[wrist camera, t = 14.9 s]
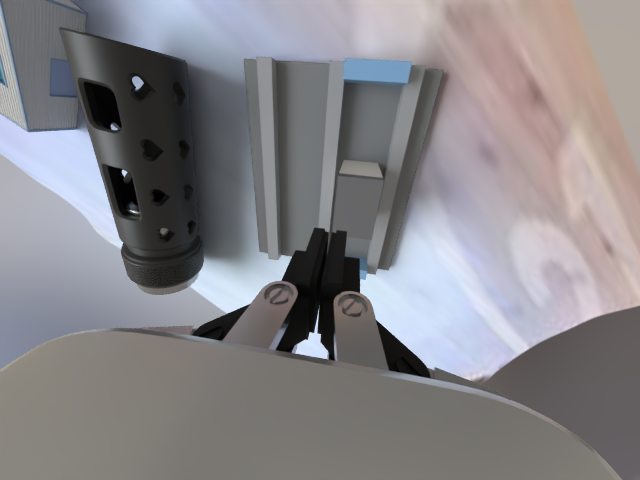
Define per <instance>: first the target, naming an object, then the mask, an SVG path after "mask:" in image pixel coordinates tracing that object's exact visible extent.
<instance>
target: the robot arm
mask: <svg viewBox="0 0 640 480" xmlns="http://www.w3.org/2000/svg"><path fill="white" fill-rule="evenodd" d="M328 238H329V232H325V229H324V228H315V227H314V230H313V232H312V235H311V238H310V240H309V243H308V246H307V248H306V251H301V250H295V252H294V254H293V256H292V259H291V261H290V263H289V265H288V267H287V270H286V272H285V274H284V276H283V279H282V281H276V282H272V283H269V284H268V285H266V286H265V287H264V288H263V289H262V290H261V291H260V292H259V294H258V295H257V296H256V298H255V299H254V300H253V301H252V303H251V304H249V305H247V306H244V307H242V308H240V309H237V310H235V311H233V312H231V313H228V314H226V315H224V316H221V317H219V318H217V319H214V320H212V321H210V322H207V323H205V324H204V325H202V326H200V327H199V328H198V329H195V327H194V326H173V327H149V328H108V329H107V328H106V329H95V330H89V331H83V332H77V333H73V334H69V335H65V336H61V337H58V338H55V339H53V340H51V341H48V342H46V343H43V344H42V345H40V346H38V347H36V348H34V349H32V350H31V351H29V352H27V353H26V354H24V355H23V356H21V357H19V358H18V359H16V360H14V361H13V362H11V363H10V364H8V365H7V366H5V367H4V368H2V369H1V370H0V480H622V479H621V478H620V477H619V476H618V474H617V473H616V472H615V471H614V470H613V469H612V468H611V467H610V466H609V464H608V463H607V462H606V461H605V460H604V459H603V458H602V457H601V456H600V455H599V454H598V453H597V452H596V451H595V450H594V449H593V448H591V447H590V446H589V445H588V444H587V443H585V442H584V441H583V440H581V439H580V438H579V437H578V436H576V435H575V434H573V433H572V432H570V431H569V430H567V429H566V428H564V427H563V426H561V425H559V424H558V423H556V422H554V421H553V420H551V419H549V418H547V417H545V416H543V415H541V414H539V413H537V412H536V411H534V410H532V409H529V408H528V407H526V406H523V405H521V404H518V403H516V402H513V401H511V400H510V399H509V398H508V397H506V396H505V395H503V394H501V393H500V392H498V391H496V390H493V389H490V388H488V387H485V386H483V385H480V384H477V383H475V382H472V381H469V380H467V379H464V378H462V377H459V376H456V375H454V374H451V373H449V372H446V371H443V370H441V369H438V368H434V370H432V369H429V368H427V367H426V365H425V364H424V363H423V362H422V361H421V360H420V359H419V358H418V357H417V356H416V355H415V354H414V353H413V352H411V351H410V350H409V349H408V348H407V347H406V346H405V345H404V344H402V343H401V342H400V341H399V340H398V339H397V338H396V337H395V336H394V335H392V334H391V333H390V332H389V331H388V330H387V329H386V328H385V327H383V326H382V325H381V324H380V323H379V322H378V321H377V320H376V319H375V315H374V311H373V307H372V304H371V302H370V300H369V299H368V298H367V297H366V296H364V295H363V294H361V293H360V258H354V257H347V256H345V249H346V239H347V231H340V230H337V231H336V233H334V232H332V235H331V240H330V244H329V249H328ZM327 250H328V253H327ZM319 305H320V306H319ZM318 310H319V320H318V334H321V343H322V344H323V345H324V347H325V348H326V349H327V350H328V355H327V359H322V358H316V357H311V356H305V355H300V354H295V352H296V350H297V344H298V343H300V342H301V341H303V340H305V339H306V340H308V336H309V332H312V333H314V330H315V325H316V320H317V315H318Z"/></svg>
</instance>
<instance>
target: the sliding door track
mask: <svg viewBox="0 0 640 480" xmlns="http://www.w3.org/2000/svg"><path fill="white" fill-rule="evenodd" d="M244 66H245V78H246V90H247V103H248V115H249V127H250V139H251V151H252V164H253V176H254V188H255V200H256V212H257V225H258V237H259V249H260V252H266V253H268V257H269V259H274V260H279V258H280V256H281V255H286V256H293V254H294V252H295V250H301V251H306V248H307V246H308V243H309V240H310V238H311V235H312V232H313V230H314V227H315V228H324V229H325V232H329V238H328V249H329V244H330V240H331V235H332V229H333V219H334V210H335V201H336V191H337V182H338V175H339V172H340V169H341V166H342V163H343V161H344V160H353V161H363V162H373V163H378V165H379V168H380V171H381V173H382V176H383V179H384V183H383V188H382V192H381V197H380V202H379V207H378V212H377V216H376V221H375V226H374V231H373V235H372V240H365V239H358V238H350V237H347V239H346V249H345V256H347V257H354V258H360V279H364V280H365V279H366V274H367V273H368V274H375V275H376V271H377V269H383V270H389V267H390V264H391V260H392V256H393V253H394V249H395V245H396V242H397V238H398V235H399V231H400V227H401V224H402V220H403V216H404V213H405V209H406V205H407V202H408V198H409V194H410V191H411V187H412V183H413V180H414V176H415V173H416V169H417V165H418V162H419V158H420V154H421V151H422V147H423V143H424V140H425V136H426V132H427V129H428V125H429V121H430V118H431V114H432V111H433V107H434V103H435V100H436V96H437V92H438V89H439V85H440V81H441V78H442V74H443V70H438V69H425V68H426V66H420V65H412V62H408V61H389V60H369V59H350V58H345V62H344V61H330V64H328V63H310V62H291V61H276V60H274V59H273V58H269V57H257V60H254V59H244ZM327 253H328V250H327Z"/></svg>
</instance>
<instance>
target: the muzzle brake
mask: <svg viewBox="0 0 640 480" xmlns="http://www.w3.org/2000/svg"><path fill="white" fill-rule="evenodd" d="M59 32H60V35H61V39H62V42H63V46H64V49H65V52H66V56H67V59H68V62H69V66H70V69H71V73H72V76H73V80H74V83H75V87H76V90H77V94H78V97H79V100H80V104H81V107H82V111H83V114H84V118H85V121H86V124H87V128H88V131H89V134H90V138H91V141H92V145H93V148H94V152H95V155H96V159H97V162H98V166H99V169H100V172H101V176H102V179H103V182H104V186H105V189H106V193H107V196H108V200H109V203H110V207H111V210H112V214H113V217H114V220H115V224H116V227H117V231H118V234H119V237H120V239H121V240H122V242H124V243H123V246H122V249H121V255H122V258H123V261H124V264H125V268H126V271H127V275H128V277H129V278H130V279H131V280H132V281H133V282H135V283H137V285H138V287H139V288H140V289H141V290H142V291H144V292H146V293H149V294H155V295H163V294H171V293H175V292H178V291H181V290H183V289H185V288H187V287H189V286H190V285H191V284H193V283H194V282H195V280H196V279H197V277H198V275H199V271H200V270H201V268H202V266H203V262H204V259H203V245H202V240H201V239H200V237H199V236H198V233H199V219H198V206H197V193H196V179H195V166H194V153H193V139H192V126H191V113H190V99H189V86H188V73H187V63H186V61H185V60H182V59H179V58H175V57H172V56H169V55H165V54H162V53H158V52H155V51H151V50H147V49H144V48H140V47H137V46H133V45H129V44H125V43H122V42H118V41H114V40H110V39H107V38H103V37H99V36H95V35H91V34H87V33H83V32H79V31H75V30H71V29H67V28H62V27H60V28H59ZM134 76H138V77H140V78H141V80H142V81H143V82H144V84H143V85H142V86H141V88H140V89H138V90H136V89H135V88H136V87H135V86H134V84H133V82H132V78H133V77H134ZM111 124H113V125H114V126H115V127H116V128H117V129H118V130H111V127H110V126H111ZM122 169H123V170H125V171H127V172H128V173H127V174H126V176H125V177H124V176H123V175H122Z"/></svg>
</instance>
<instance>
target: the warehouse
mask: <svg viewBox="0 0 640 480" xmlns="http://www.w3.org/2000/svg"><path fill="white" fill-rule="evenodd" d="M86 16H87V13H86V12H85V11H83V10H81V9H80V8H79V7H78V6H76V5H75V4H74V3H73V2H71V1H70V0H0V114H1V115H3V116H4V117H6V118H7V119H9V120H10V121H12V122H13V123H15V124H17V125H18V126H20V127H21V128H23V129H24V130H26V131H27V132H40V131H58V130H75V129H76V123H77V113H78V102H79V97H78V94H77V90H76V87H75V83H74V80H73V76H72V73H71V69H70V66H69V62H68V59H67V56H66V52H65V49H64V46H63V42H62V39H61V35H60V32H59V28H60V27H62V28H67V29H71V30H75V31H79V32H83V33H85V27H86Z"/></svg>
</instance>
